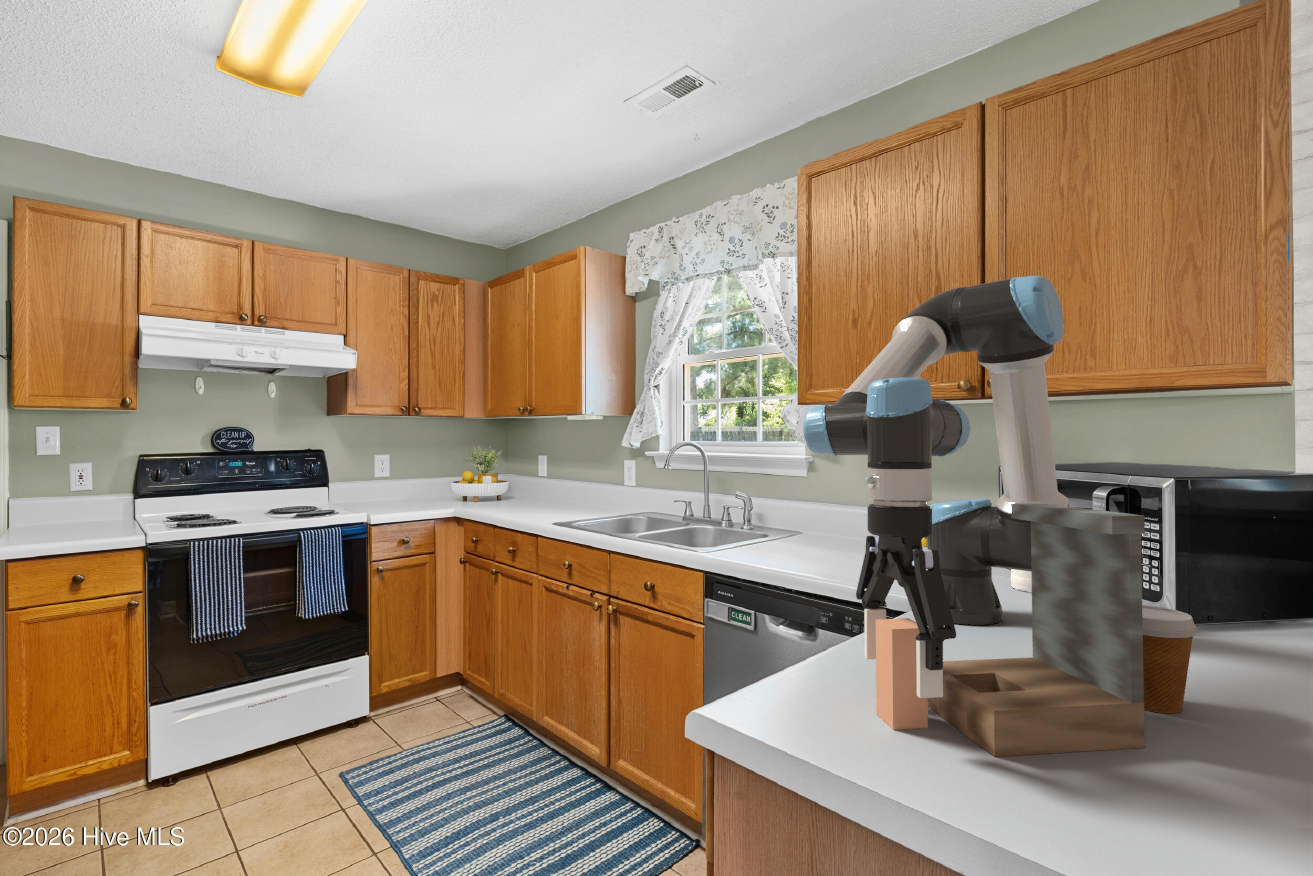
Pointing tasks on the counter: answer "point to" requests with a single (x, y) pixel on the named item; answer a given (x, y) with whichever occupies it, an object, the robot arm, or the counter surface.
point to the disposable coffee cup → (1165, 657)
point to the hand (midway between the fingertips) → (900, 676)
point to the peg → (898, 675)
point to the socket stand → (1064, 645)
